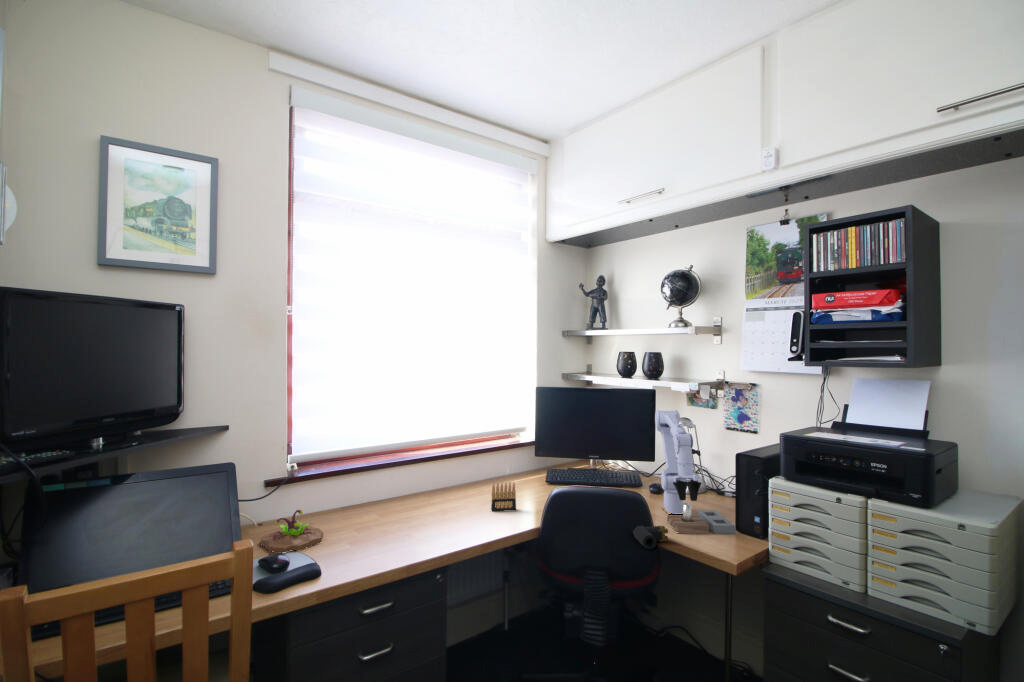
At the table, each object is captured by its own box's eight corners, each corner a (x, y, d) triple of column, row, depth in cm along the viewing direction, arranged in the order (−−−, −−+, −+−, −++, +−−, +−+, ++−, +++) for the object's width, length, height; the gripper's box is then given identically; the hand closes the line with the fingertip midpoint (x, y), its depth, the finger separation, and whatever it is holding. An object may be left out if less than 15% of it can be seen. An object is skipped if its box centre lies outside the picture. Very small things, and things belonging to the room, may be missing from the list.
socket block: (667, 522, 198) (667, 515, 198) (697, 522, 198) (697, 515, 198) (677, 533, 186) (676, 525, 186) (708, 533, 186) (708, 525, 186)
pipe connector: (657, 519, 187) (674, 533, 172) (658, 533, 187) (674, 548, 172) (628, 520, 186) (642, 535, 171) (628, 534, 186) (642, 550, 171)
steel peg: (682, 526, 193) (682, 503, 194) (689, 526, 193) (689, 503, 194) (684, 529, 190) (684, 505, 191) (692, 529, 190) (692, 505, 191)
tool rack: (696, 517, 204) (696, 510, 204) (716, 517, 204) (716, 510, 204) (714, 533, 186) (714, 525, 186) (735, 533, 186) (735, 525, 186)
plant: (332, 542, 177) (332, 511, 178) (274, 558, 164) (275, 524, 164) (309, 528, 192) (310, 499, 192) (255, 541, 178) (256, 510, 179)
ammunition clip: (515, 509, 215) (515, 481, 215) (516, 510, 213) (516, 482, 214) (491, 510, 214) (491, 482, 214) (491, 511, 212) (491, 483, 212)
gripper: (666, 464, 201) (669, 499, 197) (686, 463, 188) (689, 501, 184) (682, 465, 203) (684, 500, 199) (702, 463, 189) (706, 501, 185)
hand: (688, 500), depth 191 cm, fingers open, 7 cm apart
